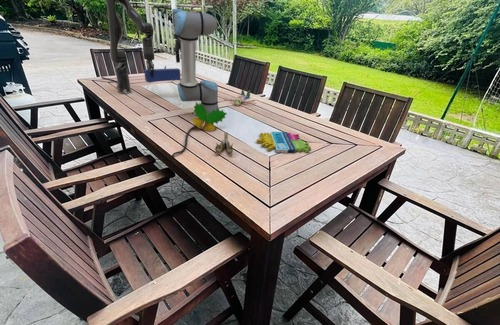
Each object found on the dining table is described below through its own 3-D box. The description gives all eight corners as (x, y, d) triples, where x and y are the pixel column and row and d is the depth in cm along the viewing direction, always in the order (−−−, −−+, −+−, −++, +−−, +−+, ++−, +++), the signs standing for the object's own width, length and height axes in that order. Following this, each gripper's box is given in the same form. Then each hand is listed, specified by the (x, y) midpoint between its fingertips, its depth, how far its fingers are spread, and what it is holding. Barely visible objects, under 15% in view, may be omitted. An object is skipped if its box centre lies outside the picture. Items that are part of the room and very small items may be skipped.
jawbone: (234, 135, 144) (233, 125, 135) (233, 160, 138) (232, 151, 129) (217, 135, 144) (216, 125, 135) (216, 160, 138) (214, 150, 129)
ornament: (218, 133, 171) (224, 110, 169) (221, 134, 163) (227, 111, 161) (186, 125, 162) (192, 101, 160) (189, 126, 155) (195, 101, 153)
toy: (261, 91, 228) (254, 99, 202) (261, 99, 231) (253, 108, 205) (231, 87, 233) (220, 95, 207) (230, 95, 236) (219, 104, 210)
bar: (178, 78, 219) (177, 68, 215) (180, 80, 215) (180, 69, 211) (145, 80, 206) (144, 69, 201) (147, 81, 202) (145, 70, 198)
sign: (313, 150, 142) (258, 149, 139) (312, 153, 143) (258, 152, 140) (301, 132, 164) (254, 130, 161) (301, 134, 165) (254, 133, 162)
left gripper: (141, 51, 199) (143, 74, 207) (145, 54, 189) (148, 78, 197) (151, 51, 203) (153, 73, 211) (156, 54, 192) (158, 77, 201)
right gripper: (168, 31, 198) (171, 61, 208) (179, 34, 179) (181, 67, 190) (178, 32, 201) (180, 61, 212) (189, 34, 183) (191, 66, 193)
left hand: (151, 75), depth 204 cm, fingers closed on bar, 5 cm apart
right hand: (180, 64), depth 201 cm, fingers open, 13 cm apart
